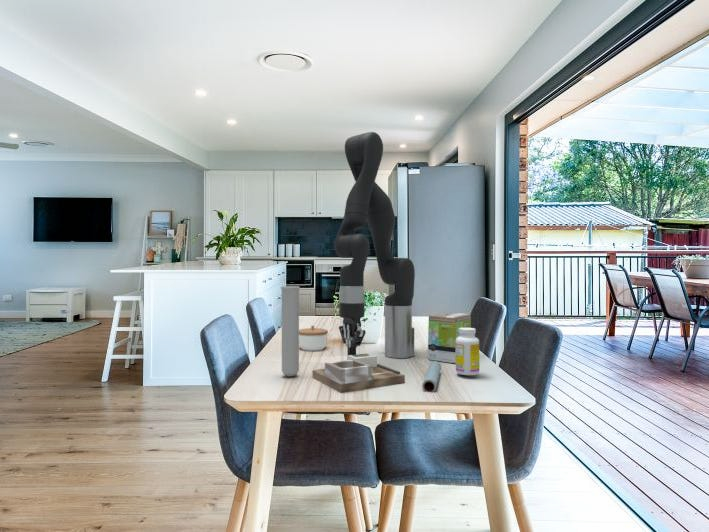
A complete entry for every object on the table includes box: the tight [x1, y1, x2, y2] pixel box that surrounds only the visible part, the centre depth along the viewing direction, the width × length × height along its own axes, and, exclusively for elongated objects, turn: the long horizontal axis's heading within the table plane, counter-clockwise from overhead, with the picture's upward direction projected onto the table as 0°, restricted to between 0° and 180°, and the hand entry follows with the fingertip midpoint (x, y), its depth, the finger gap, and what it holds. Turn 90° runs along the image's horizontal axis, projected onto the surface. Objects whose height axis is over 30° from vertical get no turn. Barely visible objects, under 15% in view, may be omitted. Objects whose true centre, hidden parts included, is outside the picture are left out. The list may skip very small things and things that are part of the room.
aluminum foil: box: [421, 360, 442, 393], centre depth 120 cm, size 23×7×3 cm, turn 166°
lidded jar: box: [299, 325, 328, 352], centre depth 160 cm, size 11×11×9 cm
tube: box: [280, 285, 301, 377], centre depth 124 cm, size 5×5×25 cm
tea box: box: [427, 312, 472, 364], centre depth 150 cm, size 15×10×15 cm, turn 148°
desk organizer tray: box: [312, 359, 406, 393], centre depth 120 cm, size 19×17×6 cm
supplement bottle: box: [455, 327, 480, 376], centre depth 128 cm, size 7×7×13 cm
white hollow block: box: [346, 353, 378, 367], centre depth 127 cm, size 7×5×3 cm
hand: (351, 359), depth 132 cm, fingers closed
